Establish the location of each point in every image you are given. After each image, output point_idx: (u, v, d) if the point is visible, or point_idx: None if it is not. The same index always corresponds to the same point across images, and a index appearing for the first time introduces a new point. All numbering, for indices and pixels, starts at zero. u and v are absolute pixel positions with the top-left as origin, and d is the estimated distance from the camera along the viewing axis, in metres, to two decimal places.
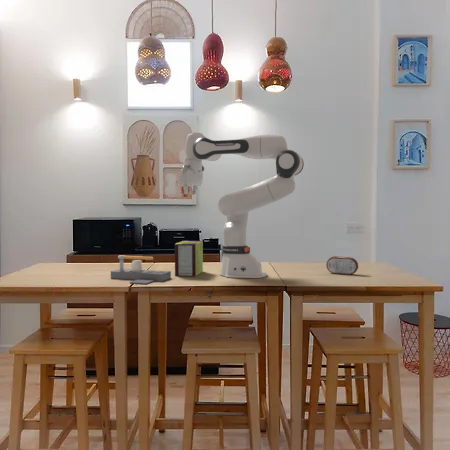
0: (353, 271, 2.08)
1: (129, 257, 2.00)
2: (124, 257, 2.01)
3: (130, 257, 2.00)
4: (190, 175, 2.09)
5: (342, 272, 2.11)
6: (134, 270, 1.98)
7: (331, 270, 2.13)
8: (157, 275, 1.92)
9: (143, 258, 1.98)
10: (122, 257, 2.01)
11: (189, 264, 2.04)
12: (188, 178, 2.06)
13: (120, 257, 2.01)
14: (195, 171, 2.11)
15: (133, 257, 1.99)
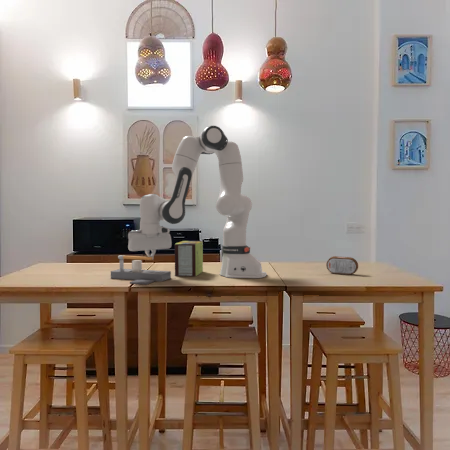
0: (353, 271, 2.08)
1: (129, 257, 2.00)
2: (124, 257, 2.01)
3: (130, 257, 2.00)
4: (141, 240, 1.95)
5: (342, 272, 2.11)
6: (134, 270, 1.98)
7: (331, 270, 2.13)
8: (157, 275, 1.92)
9: (143, 258, 1.97)
10: (122, 257, 2.01)
11: (189, 264, 2.04)
12: (135, 244, 1.93)
13: (120, 257, 2.01)
14: (148, 235, 1.96)
15: (133, 257, 1.99)
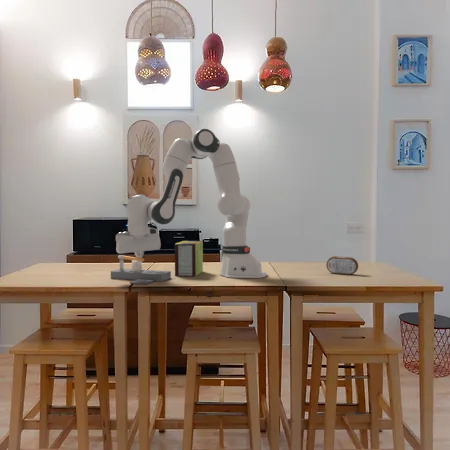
0: (353, 271, 2.08)
1: (126, 257, 1.98)
2: (122, 257, 2.00)
3: (126, 257, 1.98)
4: (129, 242, 1.91)
5: (342, 272, 2.11)
6: (134, 270, 1.98)
7: (331, 270, 2.13)
8: (157, 275, 1.92)
9: (136, 259, 1.94)
10: (121, 257, 2.01)
11: (189, 264, 2.04)
12: (123, 246, 1.90)
13: (119, 257, 2.01)
14: (136, 237, 1.92)
15: (129, 258, 1.97)
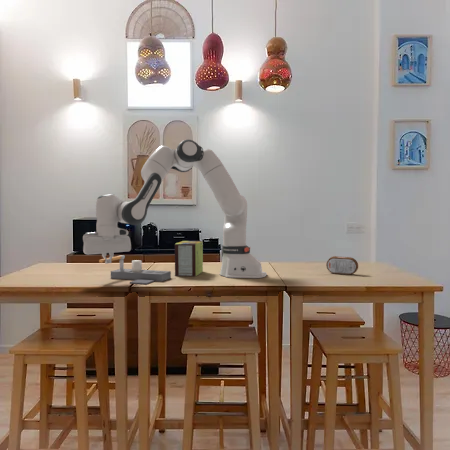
0: (353, 271, 2.08)
1: None
2: None
3: None
4: (97, 243, 1.84)
5: (342, 272, 2.11)
6: (134, 270, 1.98)
7: (331, 270, 2.13)
8: (157, 275, 1.92)
9: None
10: None
11: (189, 264, 2.04)
12: (90, 247, 1.83)
13: None
14: (105, 237, 1.85)
15: None
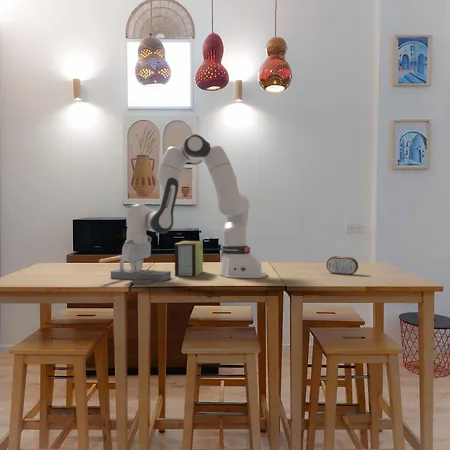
0: (353, 271, 2.08)
1: None
2: None
3: None
4: (134, 250, 1.94)
5: (342, 272, 2.11)
6: (134, 270, 1.98)
7: (331, 270, 2.13)
8: (157, 275, 1.92)
9: None
10: None
11: (189, 264, 2.04)
12: (131, 254, 1.92)
13: None
14: (139, 245, 1.97)
15: None
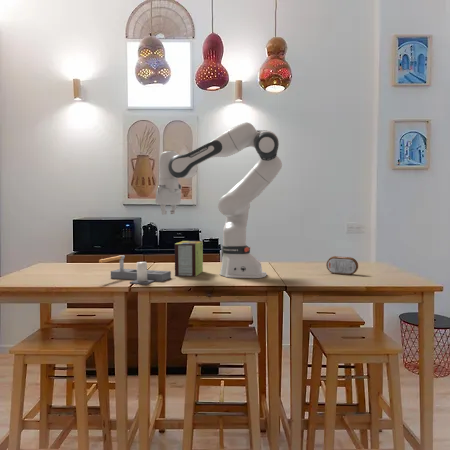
0: (353, 271, 2.08)
1: None
2: None
3: None
4: (166, 195, 2.02)
5: (342, 272, 2.11)
6: (139, 273, 1.87)
7: (331, 270, 2.13)
8: (157, 275, 1.92)
9: None
10: None
11: (189, 264, 2.04)
12: (164, 198, 2.00)
13: None
14: (171, 190, 2.05)
15: None
